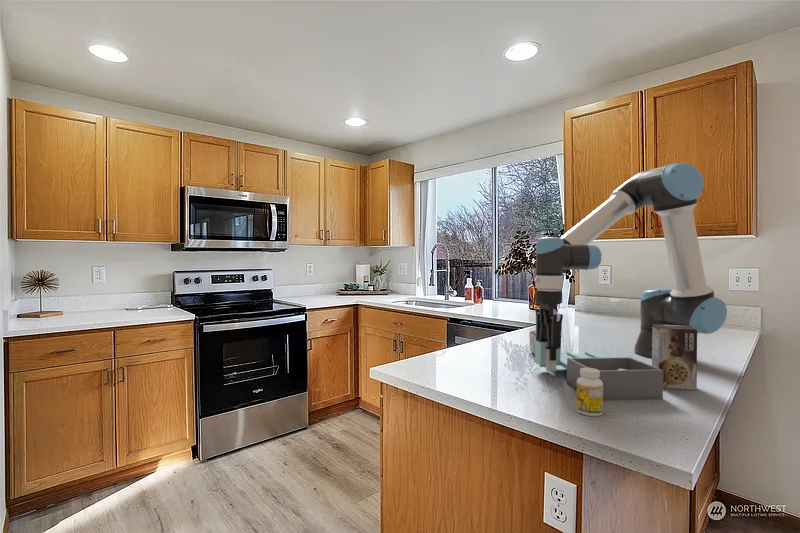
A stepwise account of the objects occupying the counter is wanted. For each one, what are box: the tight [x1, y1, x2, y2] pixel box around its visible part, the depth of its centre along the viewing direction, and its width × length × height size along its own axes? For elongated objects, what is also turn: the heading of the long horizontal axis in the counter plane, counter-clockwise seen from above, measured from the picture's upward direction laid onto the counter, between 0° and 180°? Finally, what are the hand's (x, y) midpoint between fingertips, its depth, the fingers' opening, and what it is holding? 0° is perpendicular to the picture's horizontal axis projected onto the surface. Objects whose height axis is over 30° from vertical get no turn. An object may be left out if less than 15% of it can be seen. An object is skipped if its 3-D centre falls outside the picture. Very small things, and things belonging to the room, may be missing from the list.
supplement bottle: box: [575, 368, 604, 417], centre depth 94 cm, size 5×5×10 cm
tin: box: [528, 330, 538, 356], centre depth 146 cm, size 15×3×8 cm, turn 179°
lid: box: [534, 342, 614, 370], centre depth 125 cm, size 25×14×6 cm, turn 95°
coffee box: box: [651, 324, 698, 391], centre depth 114 cm, size 9×6×16 cm
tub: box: [566, 356, 664, 401], centre depth 109 cm, size 18×13×7 cm
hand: (547, 368), depth 125 cm, fingers open, 4 cm apart
